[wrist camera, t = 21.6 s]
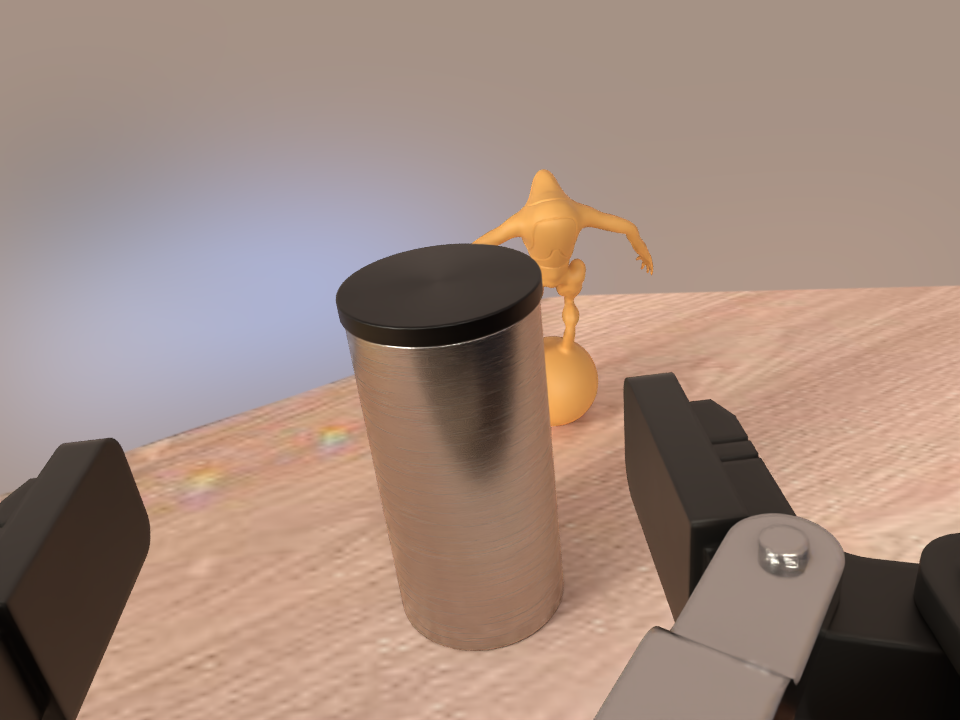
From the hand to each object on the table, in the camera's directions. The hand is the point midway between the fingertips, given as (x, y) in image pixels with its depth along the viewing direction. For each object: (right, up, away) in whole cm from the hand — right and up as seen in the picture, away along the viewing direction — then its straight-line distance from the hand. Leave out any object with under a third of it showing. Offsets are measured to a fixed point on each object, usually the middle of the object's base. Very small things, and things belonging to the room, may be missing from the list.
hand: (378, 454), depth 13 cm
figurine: (+5, -2, +24) cm, 24 cm away
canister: (+2, -6, +16) cm, 17 cm away
